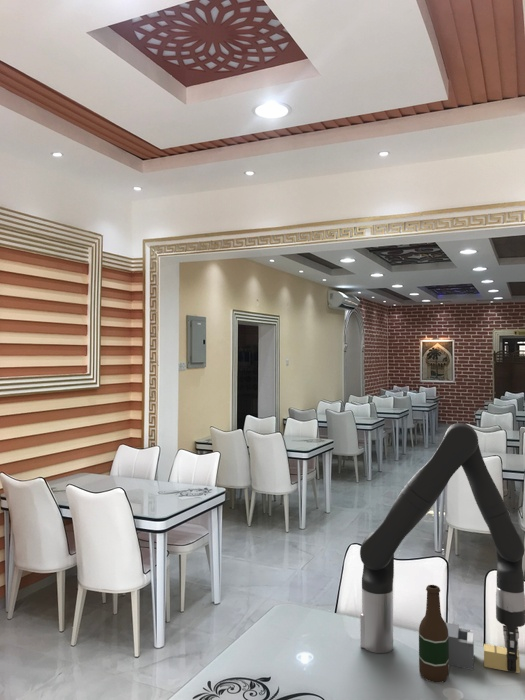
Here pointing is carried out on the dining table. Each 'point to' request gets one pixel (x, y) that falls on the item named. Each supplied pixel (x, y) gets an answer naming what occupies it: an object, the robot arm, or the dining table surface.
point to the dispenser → (460, 646)
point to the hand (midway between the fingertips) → (511, 666)
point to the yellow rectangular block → (498, 658)
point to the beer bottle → (433, 640)
